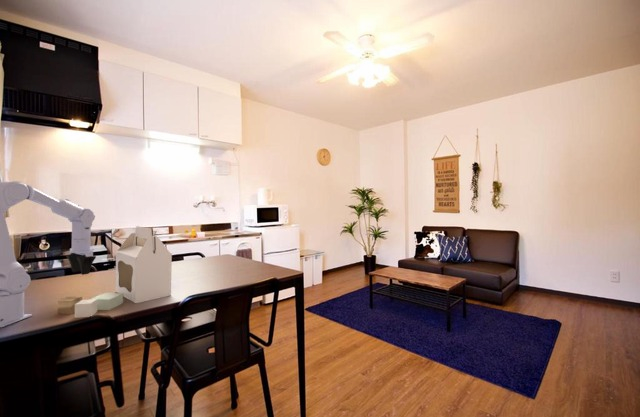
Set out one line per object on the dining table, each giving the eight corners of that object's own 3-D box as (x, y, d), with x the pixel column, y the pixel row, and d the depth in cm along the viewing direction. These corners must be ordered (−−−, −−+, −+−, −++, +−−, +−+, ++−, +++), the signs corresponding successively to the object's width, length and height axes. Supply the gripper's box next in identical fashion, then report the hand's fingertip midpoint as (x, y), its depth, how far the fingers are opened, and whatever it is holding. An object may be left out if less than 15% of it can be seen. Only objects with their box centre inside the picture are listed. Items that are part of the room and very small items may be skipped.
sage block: (109, 310, 101) (109, 299, 101) (89, 310, 101) (89, 299, 101) (123, 303, 108) (123, 293, 108) (104, 303, 108) (104, 293, 108)
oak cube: (71, 313, 97) (71, 300, 97) (57, 313, 97) (58, 300, 97) (82, 308, 101) (82, 296, 101) (69, 308, 101) (69, 296, 101)
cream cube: (90, 316, 94) (90, 303, 94) (74, 318, 93) (74, 304, 93) (97, 311, 99) (97, 299, 99) (82, 312, 98) (82, 299, 98)
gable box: (171, 295, 118) (172, 228, 117) (135, 304, 107) (136, 229, 107) (149, 285, 131) (149, 225, 131) (115, 292, 121) (116, 226, 120)
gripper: (102, 239, 112) (101, 273, 113) (84, 236, 119) (84, 268, 120) (80, 240, 106) (79, 276, 106) (63, 238, 113) (62, 272, 113)
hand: (80, 272), depth 113 cm, fingers open, 7 cm apart
